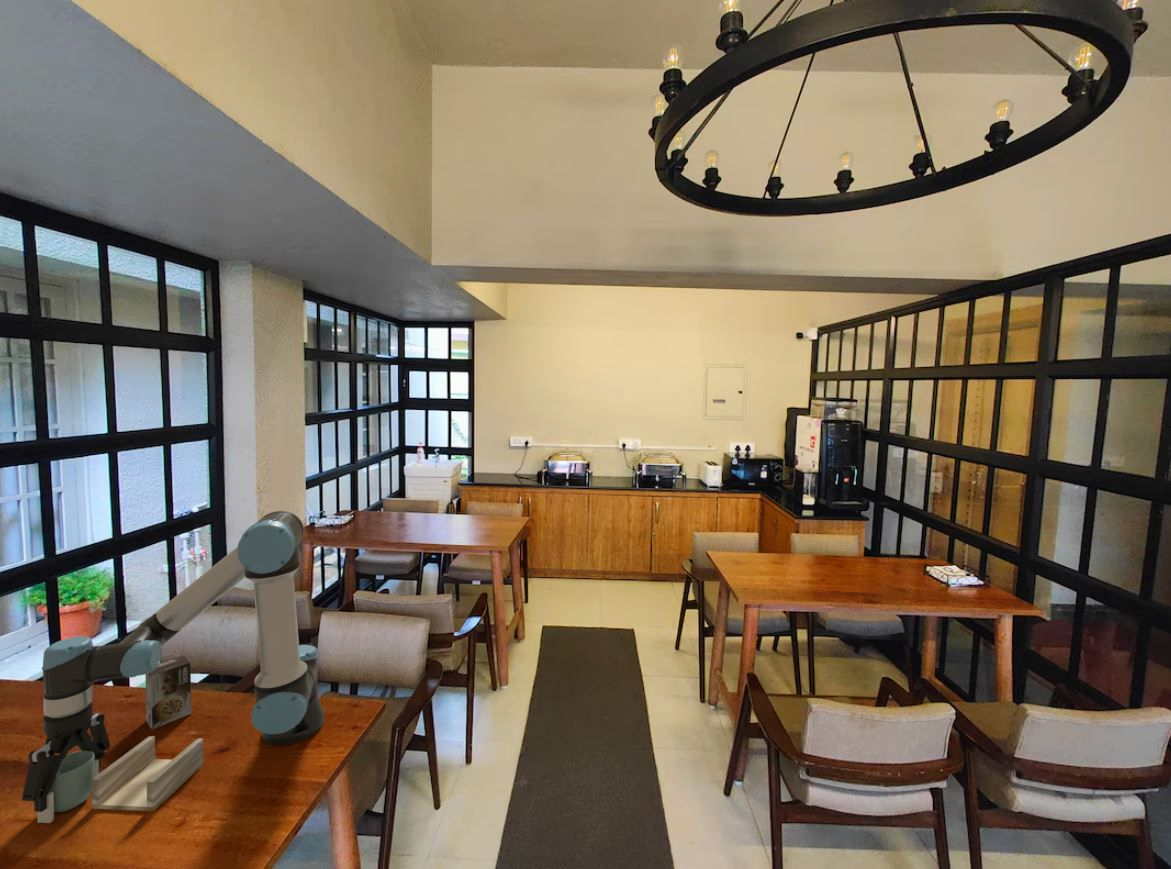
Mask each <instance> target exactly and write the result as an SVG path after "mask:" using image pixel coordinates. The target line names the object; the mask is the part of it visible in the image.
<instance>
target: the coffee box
mask: <svg viewBox="0 0 1171 869" xmlns="http://www.w3.org/2000/svg"><path fill="white" fill-rule="evenodd" d="M191 669H192V664H191V661H190V660H189V659H188V657H186V656H185V655H181V656H177V657H174V658H172V659H171V658H170V659H168V660H165V661H162V662H159V663H158V666H157V667H156V669H155V670H154V671H153V672H151V673H149V674H145V711H146V713H145V715H146V716H145V717H146V723H147V724H148V726H149V728H150V729H151V730H155V729H157V728H159V727H162V726H165V725H167V724H169V723H172V722H175V721H177V720H179V719H182V718H184V717H186V716H189V715H191V714H192V713H193V712H192V676H191V671H192V670H191Z"/></svg>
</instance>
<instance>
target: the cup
mask: <svg viewBox="0 0 1171 869" xmlns="http://www.w3.org/2000/svg"><path fill="white" fill-rule="evenodd" d="M94 777H95V755H94V753H93V752H92V751H87V750H83V751H82V750H78V751H77V750H76V751H74V752H70V753H67V755H66V757H65V758H64V759H63V760H62V762H61V764H60V767H59V769H58V772H57V774H56V777H55V779H54V782H53V784H52V786H51V789H50V791H49V792H53V794H54V813H63V812H66V811H67V812H68V811H70V810H72V809H74V808H76V807H78V806H80V805H81V804H82V803H84V802H85V801H86V800H87V799H88V798H89V797H90V795H92V779H93V778H94Z"/></svg>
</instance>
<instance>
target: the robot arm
mask: <svg viewBox="0 0 1171 869" xmlns="http://www.w3.org/2000/svg"><path fill="white" fill-rule="evenodd" d="M304 533H305V527H304V524H303V522H302V520H301V519H300V518H299V516H297V515H296V513H295V514H294V513H293V512H290V511H287V510H277V511H272V512H270V513H267V514H265V515H263V516H262V517H261V518H260V519H259V520H258V521H257V522H256V523H253V524H252V525H251V526H249V527H248V528H247V529H246V530H245V531H244V533H243V534H242V535H241V537H240V539H239V542H238V543H237V547H235V548H234V549H233V550H231V551H230V552H229V553H228V554H226V555H225V556H224V557H222V558H221V559H220V560H219V561H218V562H216V563H215V564H214V565H213V566H211V568H209V569H207V571H206V572H204V573H203V574H201V575H200V576H199V577H198V578H197V579H196V580H195V581H193V582H192V583H190V584H189V585H188V586H187V587H186V588H184V589H183V590H182V591H180V592H179V593H177V595H175V596H174V597H173V598H172V599H170V600H169V601H168V602H167V603H166V604H164V606H162V607H161V608H160V609H158V610H157V611H156V612H154V613H153V614H152V615H151V616H149V617H147V618H145V620H143V621H142V622H141V623H139V625H138V626H137V627H136V628H135V629H134V630H132V632H131V633H129V634H128V635H127V636H126V637H125V638H123V640H121V641H120V642H119V643H114V644H107V645H94V643H93V639H92V638H91V637H89V636H73V637H68V638H65V639H64V638H63V639H62V640H59V641H56V642H54V643H52V644H50V645H49V646H48V647H47V648H46V649H45V650H44V652H43V658H42V659H43V661H42V667H41V670H42V680H43V681H42V682H43V699H42V701H43V704H42V705H43V715H44V716H43V732H44V734H45V736H46V740H45V742H44V744H43V746H42V747H41V748H40V747H39V749H38V750H32V751H30V752H29V754H28V761H29V765H28V769H27V773H26V780H25V783H24V786H23V792H22V795H21V796H22V797H21V801H23V802H33V810H34V812H35V813H37V823H38V824H39V823H40V824H42V823H43V824H51V823H52V822H53V821H54V820H55V815H54V814H55V812H54V794H53V792H49V791H50V789H51V786H52V784H53V782H54V779H55V777H56V774H57V772H58V769H59V767H60V764H61V762H62V760H63V759H64V758H65V757H66V755H68V754H69V753H68V752H70V751H71V750H72V749H73V748H74V747H79V749H80V751H83V750H87V751H92V752H93V753H94V755H95V776H97V775H98V774H99V773H100V771H99V770H100V769H101V767H102V759H103V758H105V757H106V756H107V752H105V751H108V750H109V749H110V747H111V743H110V739H109V736H108V732H107V729H106V726H105V714H104V713H93V710H94V708H93V707H94V706H93V705H94V704H93V701H94V700H93V697H94V696H93V682H97V681H98V682H99V681H108V680H116V679H117V680H118V679H125V678H128V679H129V678H135V677H139V676H144V675H145V676H146V674H149V673H151V672H153V671H154V670H155V669H156V667H157V666H158V663H161V659H162V652H163V651H162V647H163V646H164V645H165V644H166V643H167V642H169V641H170V640H171V639H172V638H173V637H175V636H176V635H177V634H178V633H179V632H180V631H182V630H183V629H184V628H185V627H186V626H187V625H188V624H190V623H191V622H193V620H194V619H196V618H198V616H200V615H201V614H202V613H203V612H204V611H206V610H207V609H208V608H209V607H211V606H212V605H214V603H216V602H217V601H218V600H220V599H221V598H222V597H223V596H225V595H226V593H227V592H229V591H230V590H232V588H234V587H235V586H236V585H237V584H239V583H240V582H241V581H243V579H247V580H249V581H251V582H252V583H253V593H254V604H255V605H254V606H255V607H254V608H255V616H256V617H255V619H256V628H257V629H256V631H257V632H256V633H257V642H258V652H259V665H260V666H259V667H260V672H259V673H258V674H257V675H256V677H255V678H254V680H253V681H254V683H253V684H254V695H255V704H254V706H253V707H252V710H251V717H250V718H251V723H252V725H253V727H254V728H255V729H256V731H258V732H261V736H262V740H263V742H265V743H266V744H267V745H270V746H277V747H280V746H288V745H293V744H296V743H299V742H302V741H304V740H306V739H308V738H310V737H311V736H313V735H314V734H315V733H317V732H318V731H319V730H320V729H321V727H322V726H323V724H324V721H325V719H324V718H325V713H324V709H323V707H322V704H321V701H320V698H319V697H318V675H319V674H318V673H319V672H318V670H319V669H318V668H319V664H318V663H319V662H318V660H319V653H318V652H319V651H318V648H317V647H316V646H314V645H310V644H300V641H299V629H298V618H297V617H298V616H297V615H298V614H297V605H296V604H297V603H296V592H295V591H296V589H295V576H294V574H296V572H297V571H298V570H299V569H300V567H301V566H300V552H299V551H300V550H299V545H300V543H301V542H302V540H303V537H304V535H305V534H304ZM319 728H320V729H319ZM88 731H89V732H90V733H89V732H88ZM316 731H317V732H316ZM312 734H313V735H312ZM309 736H310V737H309ZM307 737H308V738H307Z"/></svg>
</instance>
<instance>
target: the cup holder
mask: <svg viewBox="0 0 1171 869" xmlns="http://www.w3.org/2000/svg"><path fill="white" fill-rule="evenodd" d="M155 757H156V737H155V736H147V737H146V738H144V739H143V740H142V741H141V742H140V743H138V744H137V745H135V746H134V747H133V748H131V749H130V750H128V752H126V753H125V754H124V755H122V756H121V757H119V758H118V759H117V760H116V761H114V762H113V763H112V764H110V765H109V766H107V767H106V768H104V769H103V770H102V771H101V772H99V774H98V775H97V776H95V777H94V778H93V779H92V792H91V809H93V810H94V809H95V810H111V811H112V810H114V811H115V810H116V811H117V810H118V811H119V810H120V811H139V812H140V811H141V812H154V811H155V810H157V808H159V806H161V805H162V804H163V803H164V802H165V801H166V800H167V799H169V797H170V796H172V795H173V794H174V793H175V792H176V791H178V789H179V788H180V787H181V786H182V785H184V784H185V783H186V782H187V781H188V780H189V779H190V778H191V777H192V776H193V775H194V774H195V773H196V772H198V770H200V769H201V768H202V767H203V766H204V738H200V737H199V738H196V739H195V740H194V741H192V742H191V744H190V745H189V744H188V746H187V747H186V748H185V749H183V750H182V751H181V752H180V753H179V754H177V756H175V757H174V758H172V759H164V758H163V759H161V758H160V759H159V758H155Z"/></svg>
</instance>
